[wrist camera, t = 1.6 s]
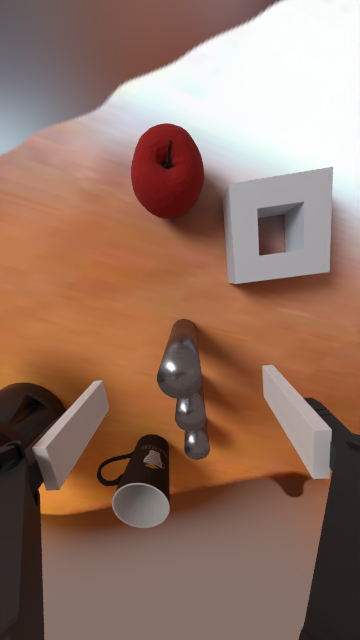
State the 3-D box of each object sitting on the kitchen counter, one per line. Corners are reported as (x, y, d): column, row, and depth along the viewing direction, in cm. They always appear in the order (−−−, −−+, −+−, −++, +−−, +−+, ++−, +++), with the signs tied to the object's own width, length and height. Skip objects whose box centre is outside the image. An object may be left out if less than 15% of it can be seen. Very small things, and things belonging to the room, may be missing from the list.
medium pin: (180, 389, 35) (177, 432, 26) (177, 369, 35) (173, 405, 25) (202, 387, 35) (207, 430, 25) (200, 367, 34) (204, 403, 25)
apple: (140, 153, 28) (114, 86, 18) (204, 155, 27) (212, 89, 18) (139, 223, 30) (115, 198, 20) (199, 226, 29) (204, 202, 20)
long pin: (173, 342, 34) (160, 400, 18) (170, 320, 33) (153, 360, 17) (197, 340, 33) (204, 396, 18) (194, 317, 32) (199, 355, 17)
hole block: (228, 282, 31) (235, 283, 26) (222, 199, 28) (229, 183, 24) (306, 272, 30) (329, 272, 25) (307, 186, 28) (332, 166, 23)
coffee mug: (183, 449, 38) (181, 508, 29) (153, 472, 40) (141, 536, 30) (140, 411, 37) (123, 459, 27) (111, 436, 38) (84, 491, 29)
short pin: (186, 431, 37) (186, 460, 32) (183, 413, 37) (182, 439, 31) (207, 430, 37) (210, 458, 31) (205, 411, 36) (208, 437, 30)
